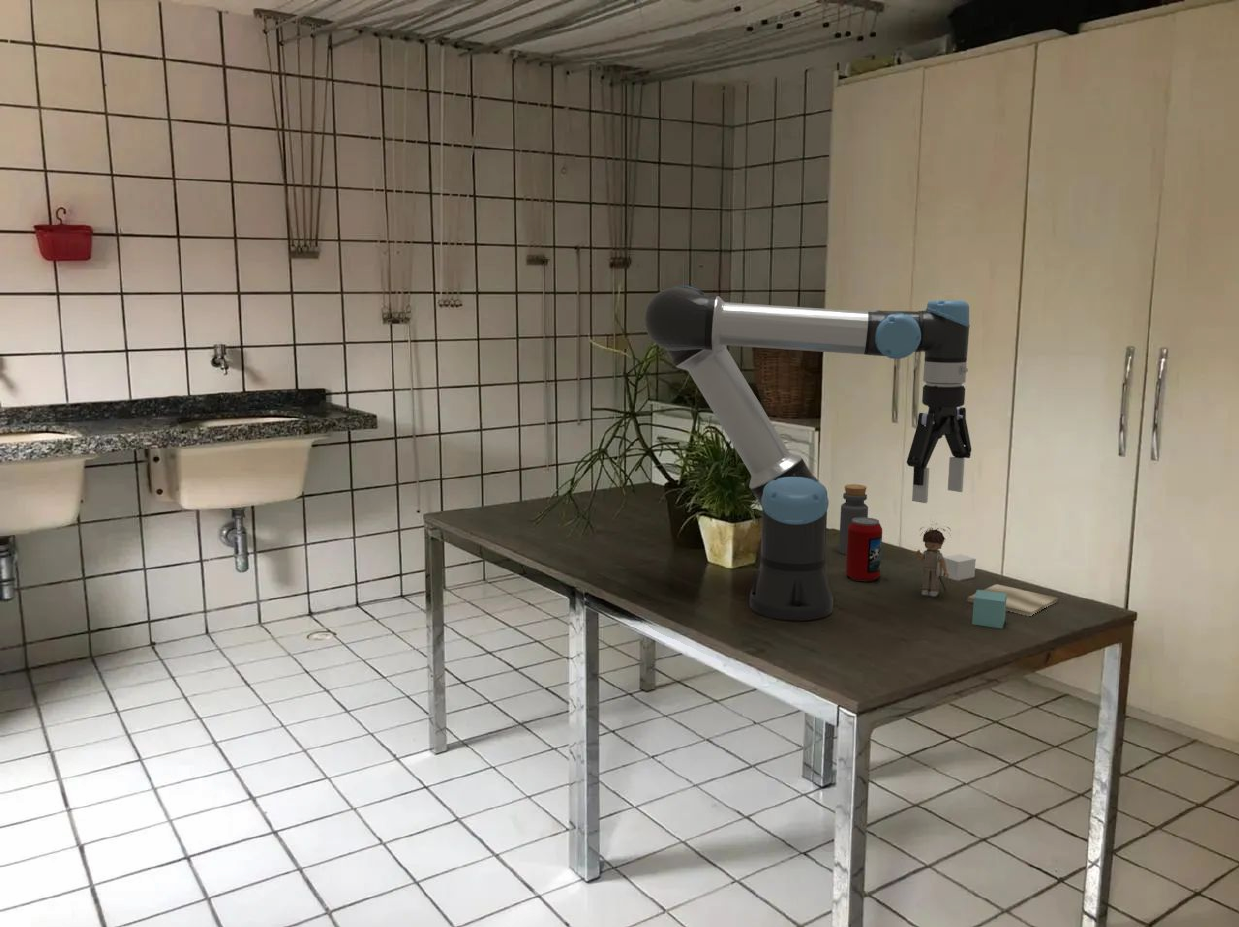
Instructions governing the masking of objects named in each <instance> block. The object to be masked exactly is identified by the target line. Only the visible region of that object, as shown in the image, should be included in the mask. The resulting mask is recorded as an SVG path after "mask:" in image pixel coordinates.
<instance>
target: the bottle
mask: <svg viewBox="0 0 1239 927" xmlns="http://www.w3.org/2000/svg"><path fill="white" fill-rule="evenodd" d="M867 488H868V487H867V486H866V485H863V484H856V483H854V484H850V483H849V484H846V485H844V490H845V491H844V493H843V495H842V498H843V499H844V500H845V502H843V503H842V504H841V505H840V522H839V540H838V541H839V542H838V544H839V546H838V552H839V553H840V554H842V555H846V556H847V539H848V527H849V525H850V523H851V522H852V519H853V518H859V517H866V518H869V516H868V515H869V506H868V505H867V504H865V501H867V499H868V494H866V491H867Z"/></svg>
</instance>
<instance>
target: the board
mask: <svg viewBox="0 0 1239 927" xmlns="http://www.w3.org/2000/svg"><path fill="white" fill-rule="evenodd" d="M982 590H983V591H991V592H999V593H1007V598H1006V611H1005V612H1008V611H1010V613H1012V612H1014V613H1013V614H1017V613H1018V614H1017V615H1021V614H1022V615H1021V616H1025V615H1026V616H1025V617H1029V616H1031V617H1032V615H1033V614H1034V615H1036V614H1038V613H1040V612H1041V610H1042V609H1044V608H1046V607H1047V608H1049V607H1051V606H1053V605H1054V604H1056V603H1058V601H1059V600H1058V599H1059V598H1058V597H1054V596H1050V595H1046V594H1042V593H1037V592H1034V591H1028V590H1024V589H1019V588H1017V587H1011V586H1007V585H1002V584H998V583H996V584H995V583H994V585H993V584H992V586H988V587H987V588H985V589H982ZM975 594H976V593H974V594H972V595H970V596H968V597H967V598H966V599H967V602H969V603H973V604H974V596H975ZM1050 605H1051V606H1050ZM1048 606H1049V607H1048ZM1047 608H1046V609H1047ZM1044 610H1045V609H1044ZM1039 611H1040V612H1039ZM1042 611H1043V610H1042ZM1037 612H1038V613H1037ZM1035 613H1036V614H1035ZM1034 615H1033V616H1034Z"/></svg>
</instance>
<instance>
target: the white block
mask: <svg viewBox="0 0 1239 927" xmlns="http://www.w3.org/2000/svg"><path fill="white" fill-rule="evenodd" d="M943 558H944V561H945V564H946V569H947V571H946V572H947V573H948V574H949V576H948V577H946V575H945V576H943V573H944V571H942V573H941V576H942V577H944V578H948V579H951V580H954V581H963V580H968V579H972V578H975V573H976V572H975V571H976V560H977V559H976V558H975V557H970V556H968V555H964V554H962V553H959V554H954V555H948V556H943ZM942 570H943V568H942Z"/></svg>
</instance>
